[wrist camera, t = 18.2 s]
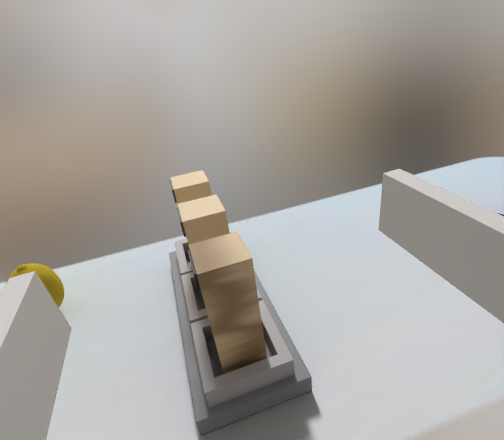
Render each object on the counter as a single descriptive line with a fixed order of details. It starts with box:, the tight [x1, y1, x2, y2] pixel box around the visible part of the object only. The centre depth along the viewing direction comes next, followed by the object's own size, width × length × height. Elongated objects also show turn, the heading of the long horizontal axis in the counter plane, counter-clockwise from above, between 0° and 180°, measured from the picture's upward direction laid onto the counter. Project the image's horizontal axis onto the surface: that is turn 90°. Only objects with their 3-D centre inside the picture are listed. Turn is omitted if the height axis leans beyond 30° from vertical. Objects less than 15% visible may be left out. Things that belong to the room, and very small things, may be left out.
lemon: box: [6, 264, 64, 308], centre depth 39 cm, size 6×6×8 cm
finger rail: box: [169, 170, 312, 435], centre depth 34 cm, size 10×25×14 cm, turn 18°
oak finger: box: [188, 232, 267, 374], centre depth 27 cm, size 4×4×12 cm
